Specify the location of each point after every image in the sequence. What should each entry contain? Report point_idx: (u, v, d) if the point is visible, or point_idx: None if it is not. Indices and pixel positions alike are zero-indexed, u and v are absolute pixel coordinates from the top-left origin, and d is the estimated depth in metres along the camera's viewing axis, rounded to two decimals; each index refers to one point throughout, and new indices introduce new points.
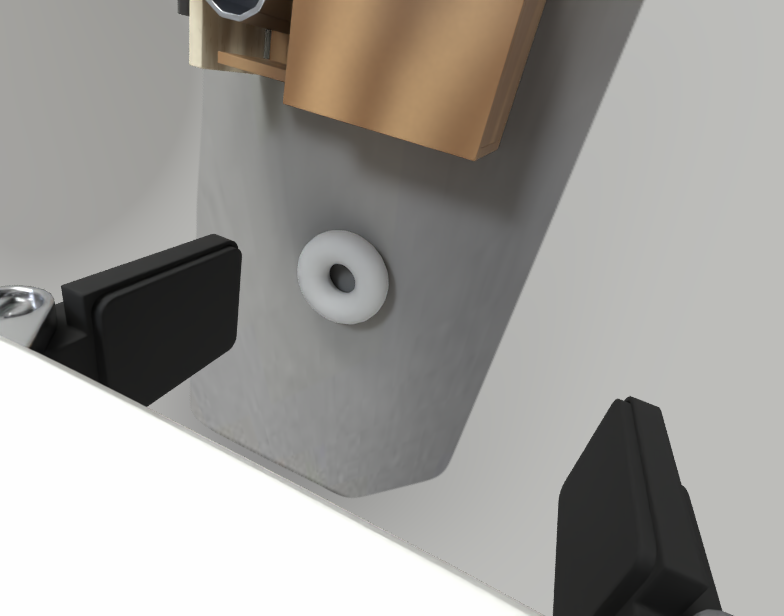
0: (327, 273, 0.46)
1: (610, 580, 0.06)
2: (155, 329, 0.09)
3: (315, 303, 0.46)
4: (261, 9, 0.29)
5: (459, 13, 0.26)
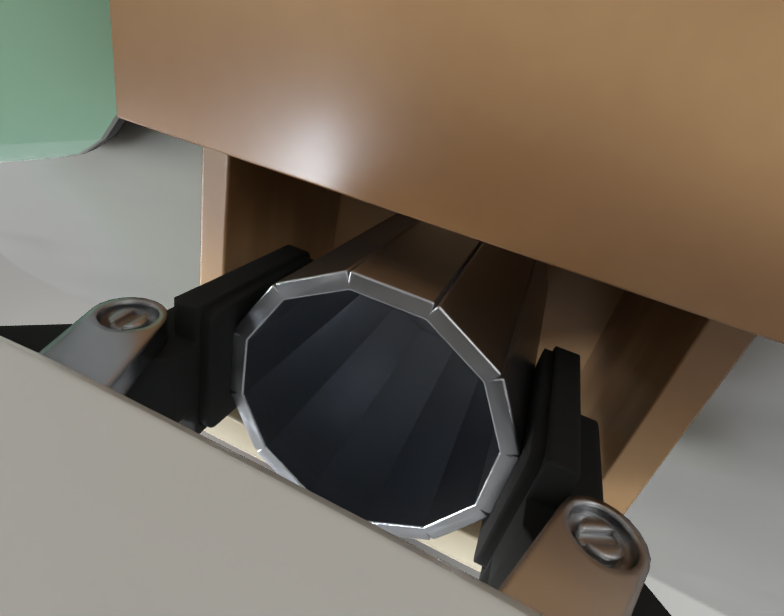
0: None
1: (512, 484, 0.07)
2: None
3: None
4: (495, 362, 0.07)
5: None
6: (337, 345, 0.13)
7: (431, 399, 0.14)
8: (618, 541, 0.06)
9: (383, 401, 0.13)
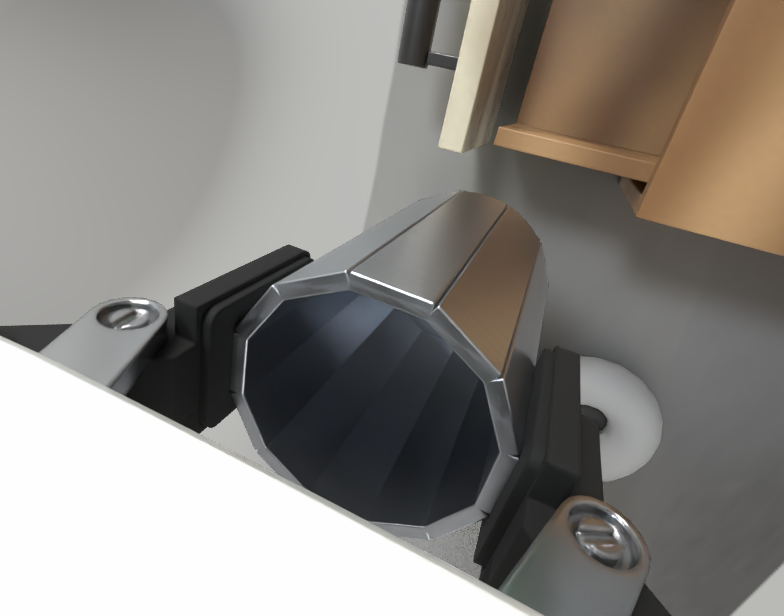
0: None
1: (512, 484, 0.07)
2: None
3: None
4: (495, 362, 0.07)
5: None
6: (337, 345, 0.13)
7: (431, 399, 0.14)
8: (618, 541, 0.06)
9: (383, 401, 0.13)
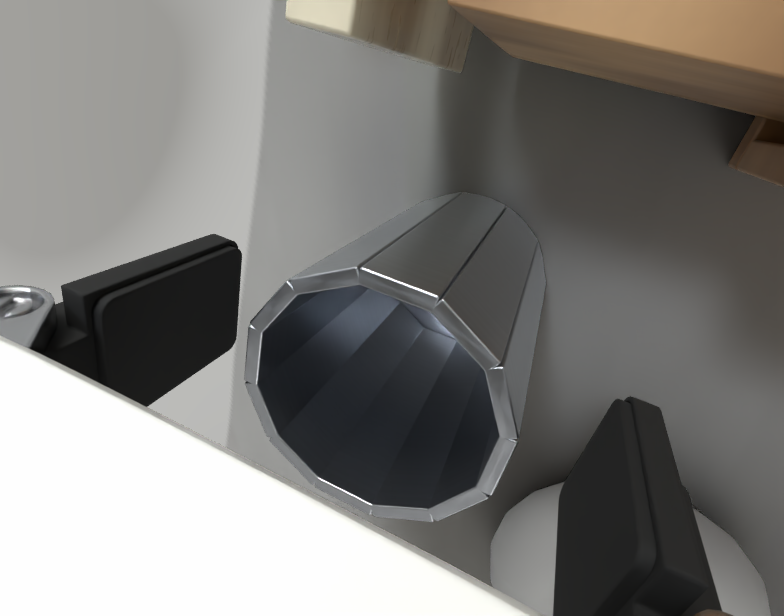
0: None
1: (610, 580, 0.06)
2: (155, 329, 0.09)
3: None
4: (495, 351, 0.08)
5: None
6: (343, 341, 0.14)
7: (433, 392, 0.14)
8: None
9: (387, 394, 0.14)
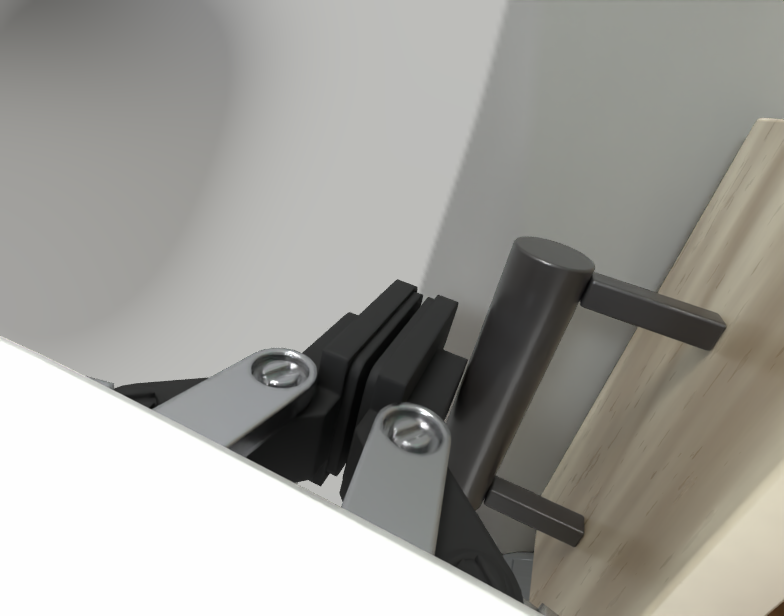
0: None
1: None
2: None
3: None
4: None
5: None
6: None
7: None
8: (426, 429, 0.07)
9: None
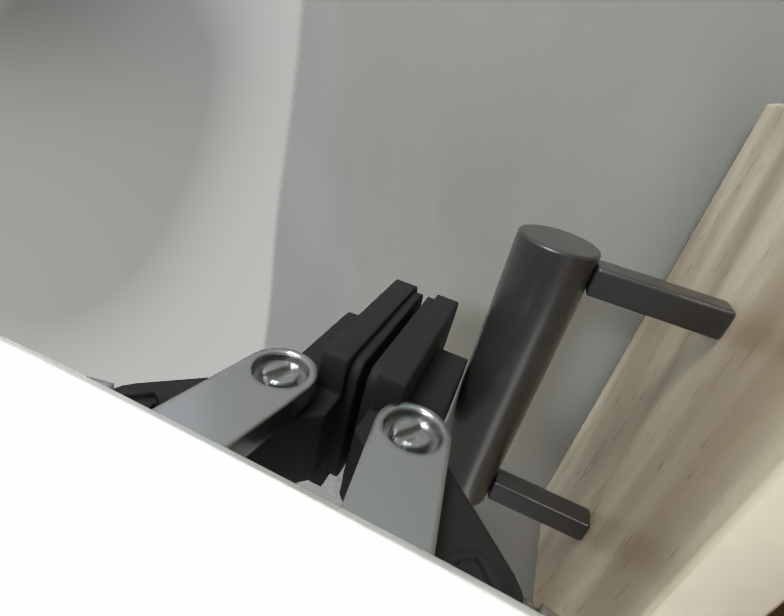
0: None
1: None
2: None
3: None
4: None
5: None
6: None
7: None
8: (425, 430, 0.07)
9: None
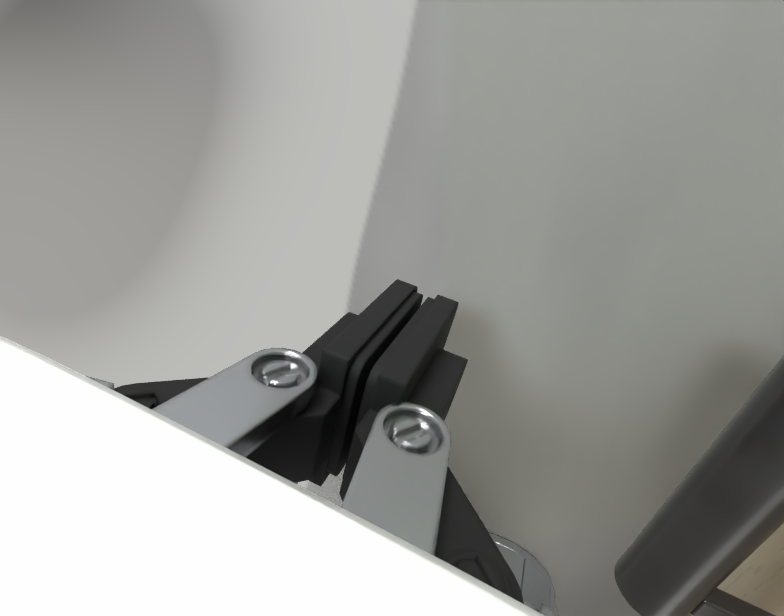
0: None
1: None
2: None
3: None
4: None
5: None
6: None
7: None
8: (425, 429, 0.07)
9: None
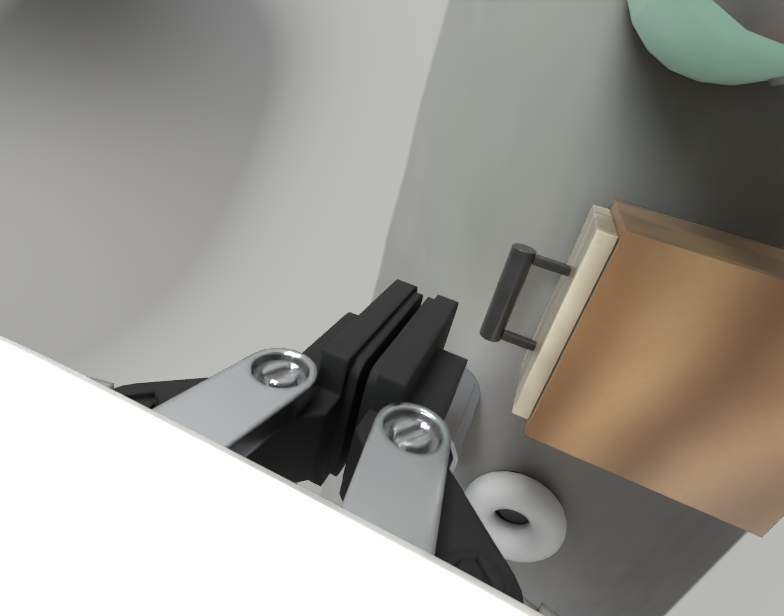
0: None
1: None
2: None
3: None
4: (451, 438, 0.33)
5: (779, 420, 0.24)
6: None
7: None
8: (425, 429, 0.07)
9: None
